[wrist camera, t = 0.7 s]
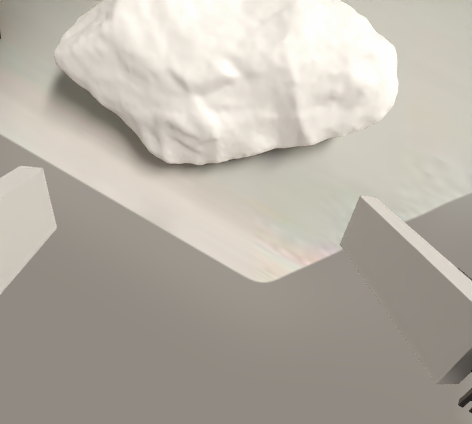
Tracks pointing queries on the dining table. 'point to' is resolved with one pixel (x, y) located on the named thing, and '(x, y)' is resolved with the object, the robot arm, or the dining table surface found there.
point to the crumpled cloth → (231, 73)
